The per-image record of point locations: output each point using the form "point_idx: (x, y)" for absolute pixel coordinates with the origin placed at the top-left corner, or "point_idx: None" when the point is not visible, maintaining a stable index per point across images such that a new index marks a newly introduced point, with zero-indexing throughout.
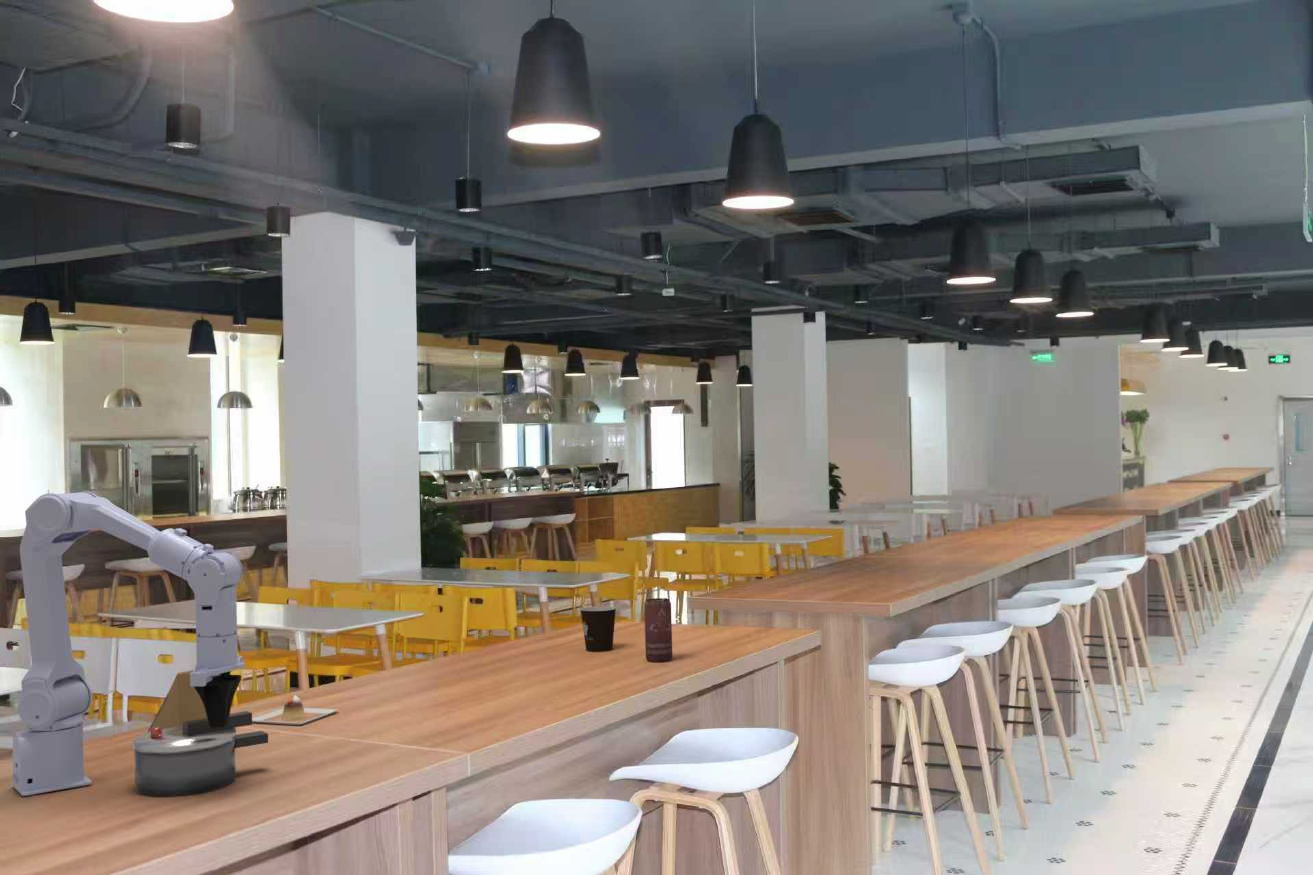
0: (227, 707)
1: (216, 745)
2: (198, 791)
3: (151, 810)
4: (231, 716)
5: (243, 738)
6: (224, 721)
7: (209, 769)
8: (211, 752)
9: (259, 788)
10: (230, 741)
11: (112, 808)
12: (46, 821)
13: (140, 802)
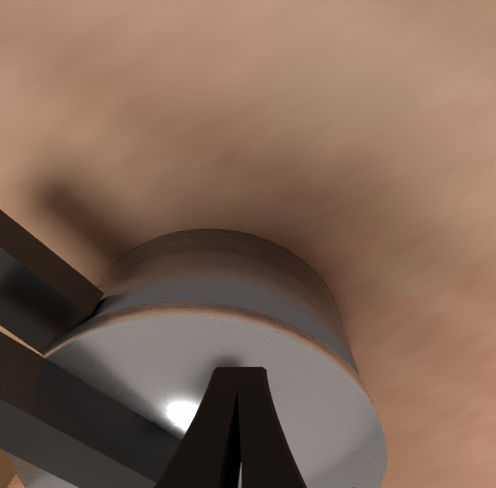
0: (256, 456)
1: (293, 327)
2: (319, 279)
3: (468, 324)
4: (25, 410)
5: (62, 291)
6: (268, 386)
7: (305, 291)
8: (302, 324)
9: (278, 106)
10: (202, 303)
11: (423, 405)
12: (490, 470)
13: (383, 373)
